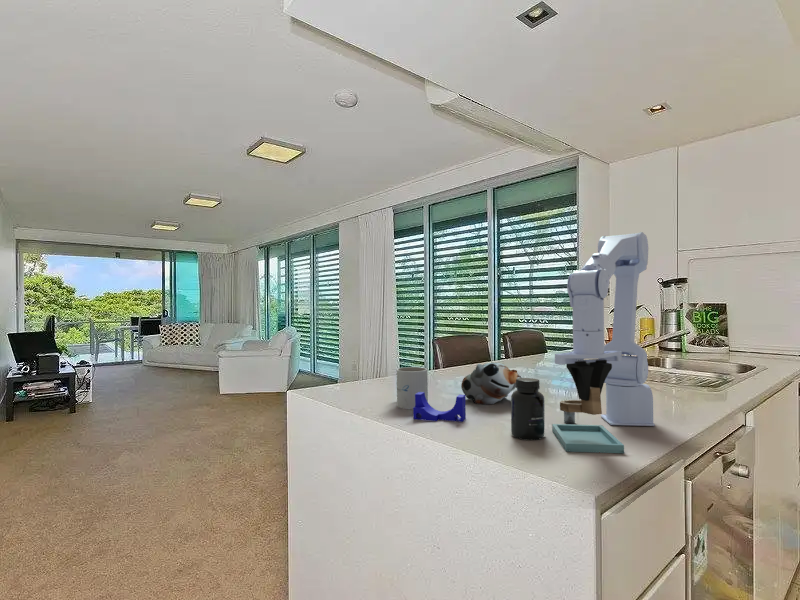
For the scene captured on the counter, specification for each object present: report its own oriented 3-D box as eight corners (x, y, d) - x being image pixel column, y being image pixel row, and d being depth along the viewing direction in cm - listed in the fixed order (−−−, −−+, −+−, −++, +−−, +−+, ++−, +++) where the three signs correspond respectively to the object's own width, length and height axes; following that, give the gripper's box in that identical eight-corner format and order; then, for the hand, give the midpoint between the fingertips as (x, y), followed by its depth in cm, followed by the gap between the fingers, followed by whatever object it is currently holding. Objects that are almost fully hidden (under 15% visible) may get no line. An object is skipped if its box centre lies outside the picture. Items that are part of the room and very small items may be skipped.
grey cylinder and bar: (576, 421, 106) (575, 401, 106) (578, 424, 103) (578, 403, 103) (560, 421, 106) (560, 400, 106) (562, 423, 104) (562, 403, 104)
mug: (432, 407, 122) (432, 370, 122) (402, 410, 119) (402, 372, 119) (417, 398, 133) (416, 364, 133) (389, 400, 131) (388, 366, 131)
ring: (554, 409, 94) (553, 385, 95) (578, 406, 96) (576, 383, 97) (584, 415, 86) (582, 389, 86) (610, 413, 88) (608, 387, 88)
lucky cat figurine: (504, 394, 137) (521, 356, 131) (511, 419, 126) (530, 379, 120) (457, 381, 136) (473, 342, 131) (460, 405, 125) (477, 364, 119)
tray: (602, 432, 97) (602, 425, 97) (624, 453, 83) (624, 445, 83) (552, 430, 98) (552, 423, 98) (565, 451, 85) (565, 443, 85)
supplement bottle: (540, 443, 90) (539, 383, 90) (507, 437, 94) (506, 380, 94) (548, 434, 96) (547, 378, 96) (517, 429, 100) (516, 375, 100)
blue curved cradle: (413, 419, 110) (413, 395, 110) (419, 415, 114) (419, 391, 114) (461, 424, 105) (460, 398, 105) (465, 419, 110) (465, 394, 110)
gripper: (603, 328, 95) (604, 392, 95) (544, 330, 90) (545, 397, 90) (629, 330, 88) (630, 399, 88) (567, 332, 84) (568, 405, 84)
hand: (589, 399), depth 89 cm, fingers closed on ring
